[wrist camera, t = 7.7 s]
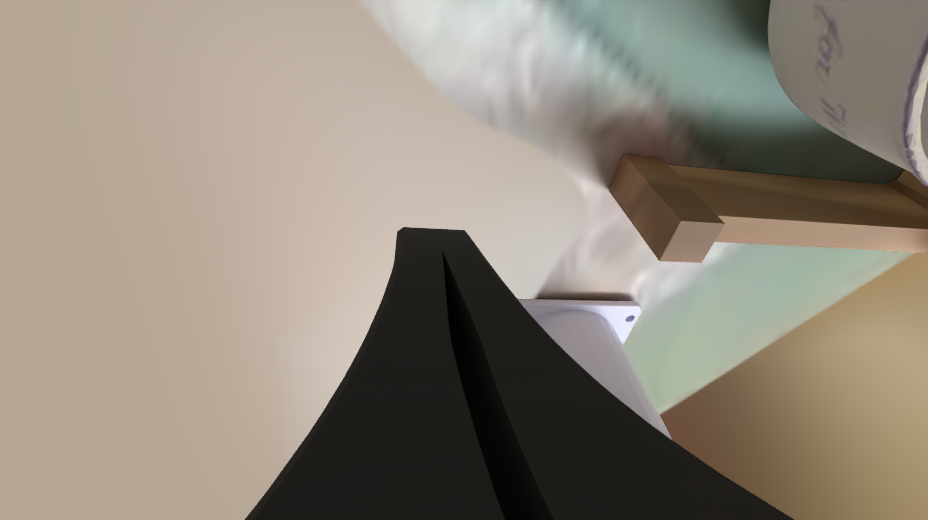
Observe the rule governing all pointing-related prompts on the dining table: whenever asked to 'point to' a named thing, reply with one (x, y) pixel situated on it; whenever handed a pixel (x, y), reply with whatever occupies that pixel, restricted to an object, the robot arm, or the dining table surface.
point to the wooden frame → (766, 209)
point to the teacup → (858, 71)
